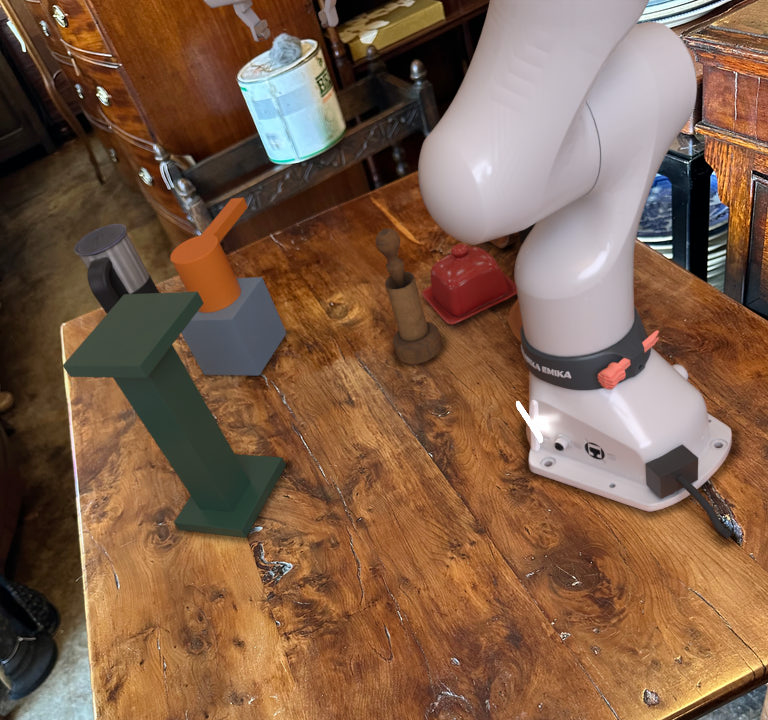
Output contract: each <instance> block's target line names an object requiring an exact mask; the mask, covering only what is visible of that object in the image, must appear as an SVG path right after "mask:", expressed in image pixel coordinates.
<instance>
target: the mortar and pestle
mask: <svg viewBox="0 0 768 720" xmlns="http://www.w3.org/2000/svg"><path fill="white" fill-rule="evenodd" d="M375 246H376V249H377V250H378V251H379V252H380V253H381V254H382V255H383V256H384V257H385V258H386V260H387V261H386V264H385V268H386V271H387V272H388V274H389V276H388V277H387V278H386V279H385V281H384V286H385V290H386V293H387V296H388V299H389V303H390V307H391V309H392V312H393V313H392V314H393V317H394V319H395V322H396V326H397V331H396V332H395V334H394V335H393V337H392V345H393V349H394V352H395V355H396V358H397V360H398V361H400V362H402V363H404V364H408V365H418V364H423V363H426V362H428V361H430V360H432V359H433V358H434V357H436V356H437V355H438V354H439V353H440V351H441V350H442V348H443V347H442V346H443V341H442V337H441V334H440V333H441V332H440V330H439V328H438V326H437V325H436V324H434V323H432V322H430V321H427V319H426V316H425V311H424V308H423V304H422V300H421V297H420V293H419V289H418V285H417V281H416V278H415V274H414V273H412V272H410V271H405V262H404V260H403V259H402V258H399V250H400V246H401V238H400V235H399V233H398V232H397V231H396V230H395V229H393V228H383V229H381V230H380V231H379V232H378V233H377V235H376V237H375Z"/></svg>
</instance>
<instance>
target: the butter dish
mask: <svg viewBox="0 0 768 720" xmlns="http://www.w3.org/2000/svg"><path fill="white" fill-rule="evenodd" d="M430 283H431V285H430V286H428V287H426V288H425V289H423V290H422V291H421V296H422V297H423V298H424V300H425V301H426V302H427V303H428V304H429V305H430V307H431V308H432V309H433V310H434V311H435V312H436V313H437V315H439V317H440V318H441V319H442V320H443V321H444V322H445V323H446V324H448V325H456V324H458V323H460V322H462V321H465V320H467V319H469V318H471V317H473V316H474V315H477V314H479V313H481V312H484V311H485V310H487V309H490V308H492V307H494V306H496V305H498V304H501V303H502V302H504V301H506V300H509V299H511V298H512V297H514V296H516V295H517V289H516V283H515V281H513V280H512V279H511V278H510V277H509V276H508V275H507V274H506V273H505V272H503V271H502V270H501V268H500V266H499V264H498V262H497V261H496V259H494V257H493V256H492V255H491V254H490V253H489V252H488V251H486V250H485V249H483V248H481V247H479V246H470V245H469V244H466V243H458V244H454V246H452V247H451V249H450V253H449V254H448V255H446V256H444V257H442V258H441V259H439V260H438V261H436V262H435V263H434V264H433V265H432V266H431V268H430Z"/></svg>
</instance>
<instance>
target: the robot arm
mask: <svg viewBox="0 0 768 720" xmlns="http://www.w3.org/2000/svg"><path fill="white" fill-rule="evenodd" d="M202 1H203V2H204V3H205V4H206V5H207V6H208V7H210V9H216V8H221V7H225V6H230V5H232V7H233V9H234V12H235V15H237V17H238V18H239V19H240V20H241V21H242V22H243V23H244V24H245V25H246V26H247V27H248V28H249V29H250V32H251V34H252V38H253V40H254V41H255V43H259V42H264V41H267V40H268V38H270V37H271V30H270V28H268V27H269V24H268V21H267V19H260V18H259V16H258V15H257V14H256V12H254V10H253V9H252V8H251V7H252V6H253V0H202ZM649 2H650V0H489V4H488V8H487V13H486V17H485V20H484V23H483V27H482V30H481V33H480V36H479V39H478V42H477V45H476V48H475V51H474V53H473V56H472V59H471V61H470V64H469V66H468V68H467V71H466V73H465V74H464V75H465V76H464V78H463V79H462V82H461V84H460V86H459V88H458V90H457V92H456V94H455V96H454V98H453V100H452V101H451V103H450V105H449V106H448V108H447V110H446V111H445V112H444V114H443V116H442V117H441V118H440V119H439V121H438V123H437V124H436V125H435V126H434V128H433V129H432V130H431V131H430V132H429V134H428V135H427V136H426V138H425V139H424V140H423V143H422V145H421V149H420V153H419V157H418V164H417V165H418V167H417V169H418V170H417V179H418V187H419V193H420V195H421V199H422V202H423V204H424V206H425V208H426V211H427V212H428V214H429V216H430V217H431V219H432V220H433V221H434V222H435V224H436V225H437V226H438V227H439V228H440V229H441V230H442V231H443V232H445V233H446V234H447V235H449V236H450V237H451V238H453V239H455V240H457V241H459V242H462V243H463V244H466V245H468V246H476V245H480V244H483V243H486V242H489V241H490V240H494V239H497V238H501V237H504V236H507V235H510V234H513V233H516V232H519V231H522V230H524V229H526V228H528V227H530V226H531V225H533V224H535V223H536V224H535V226H534V227H533V229H532V230H531V232H530V233H529V234H528V236H527V237H526V239H525V241H524V242H523V244H522V245H521V246H520V247H519V250H518V252H517V255H516V258H515V259H516V260H515V264H514V270H513V271H514V272H513V274H514V276H513V277H514V283H515V285H516V289H517V294H516V295H517V300H518V301H519V307H520V313H521V318H522V326H521V331H520V336H521V342H520V343H521V344H520V350H521V355H522V356H523V362H524V365H525V367H526V369H527V370H528V407H529V408H528V413H527V411H526V410H525V408H524V406H523V405H522V404H521V402H520V401H519V400H518V401H516V404H515V405H516V409H517V410H518V411H519V413H520V414H521V416H522V418H523V419H524V420H525V422H526V427H525V434H526V438H527V441H528V444H529V447H530V449H529V453H528V469H529V471H530V472H531V473H534V474H536V475H539V476H542V477H544V478H548V479H549V480H553V481H556V482H559V483H561V484H565V485H568V486H571V487H574V488H577V489H579V490H583V491H585V492H589V493H591V494H594V495H597V496H600V497H603V498H606V499H608V500H612V501H615V502H618V503H621V504H623V505H626V506H629V507H632V508H635V509H639V510H641V511H645V512H655V511H660V510H663V509H666V508H668V507H671V506H674V505H675V504H677V503H679V502H681V501H683V500H684V499H686V498H688V497H689V496H691V497H693V499H694V500H695V501H696V502H697V503H698V504H699V505H700V507H701V508H702V509H703V511H704V512H705V513H706V514H707V516H708V518H709V520H710V522H711V524H712V526H713V527H714V529H715V530H716V532H717V533H719V534H720V535H721V536H722V537H723V538H725V539H729V538H731V536H732V535H733V532H732V531H731V530H729V529H728V528H726V526H725V525H724V524H723V523H722V521H721V519H720V517H719V516H718V514H717V512H716V510H715V509H714V507H713V506H712V504H711V503H710V502H709V501H708V500H707V498H705V496H704V495H703V494H702V493H701V492H700V490H698V489H700V488H701V487H702V486H703V485H704V484H706V482H708V481H709V480H710V479H711V478H712V476H714V474H715V473H716V472H717V471H718V470H719V469H720V468H721V466H722V465H723V464H724V462H725V461H726V459H727V457H728V455H729V453H730V451H731V448H732V444H733V433H732V432H733V431H732V429H731V427H730V426H728V425H727V424H725V423H724V422H722V421H721V420H719V419H718V418H716V417H714V416H713V415H711V413H709V412H708V408H707V404H706V401H705V398H704V396H703V394H702V393H701V392H700V390H699V389H697V387H695V386H694V385H693V384H692V383H691V382H690V381H689V373H688V370H687V369H686V368H685V366H683V365H681V364H679V363H675V364H673V365H671V363H670V362H668V361H667V360H666V359H665V358H664V357H663V356H662V355H661V354H660V353H658V351H656V350H655V349H654V348H653V346H654V345H656V343H657V342H658V341H659V340H660V337H658V335H659V333H660V330H659V329H656V330H655V331H653V332H652V333H651V334H650V335H648V333H647V332H648V331H647V330H646V328H645V325H644V323H643V320H642V318H641V316H640V314H639V311H638V309H637V308H636V306H635V291H634V290H635V288H634V287H635V286H634V285H635V284H634V283H635V282H634V278H635V277H634V275H635V274H634V273H635V271H634V270H635V269H634V267H635V266H634V265H635V264H634V263H635V262H634V261H635V260H634V259H635V258H634V257H635V247H636V241H637V235H638V231H639V227H640V223H641V220H642V216H643V213H644V210H645V206H646V203H647V201H648V197H649V195H650V192H651V190H652V187H653V184H654V182H655V180H656V179H655V178H656V177H657V174H658V172H659V170H660V167H661V165H662V163H663V161H664V159H665V157H666V155H667V154H668V152H669V151H670V149H671V147H672V145H673V144H674V142H675V140H676V139H677V137H678V136H679V135H680V134H681V132H682V130H683V129H685V127H686V125H687V124H688V122H689V121H690V120H691V117H692V115H693V112H694V110H695V106H696V101H697V96H698V95H697V93H698V79H697V78H698V77H697V71H696V67H695V63H694V60H693V56H692V54H691V52H690V50H689V48H688V46H687V45H686V44H685V42H684V41H683V39H682V38H681V37H680V36H679V35H678V34H677V33H676V32H675V31H674V30H672V29H671V28H670V27H668V26H667V25H665V24H663V23H660V22H656V21H645V22H639V21H640V19H641V17H642V15H643V14H644V12H645V10H646V8H647V6H648V4H649ZM336 3H337V0H324V6H323V7H322V8H321V10H320V11H319V12H317V14H318V17H319V20H320V26H321V27H322V29H329V28H334V27H335V28H336V26H337V25H338V24H339V17H338V13H337V9H336ZM638 22H639V23H638Z"/></svg>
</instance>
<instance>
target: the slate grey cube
mask: <svg viewBox="0 0 768 720" xmlns="http://www.w3.org/2000/svg"><path fill="white" fill-rule="evenodd" d="M236 279H237V281H238V283H239V285H240V288H241V294H240V296H239V297H238V299H237V300H236V301H235V302H233V303H232V304H231V305H229V306H228V307H226V308H224V309H222V310H219V311H216V312H211V313H203V312H200V311H198V312H197V313H196V314H195V315H194V317H193V318H192V319H191V321H190V322H189V323H188V325H187V326H186V327H185V329H184V330H183V331H182V333H181V334H180V335H181V336H182V338H183V340H184V342H185V343H186V345H187V347H188V349H189V351H190V352H191V353H192V355H193V358H194V359H195V361H196V363H197V365H198V366H199V368H200V370H201V372H202V374H203V376H250V377H251V376H252V377H253V376H255V377H258V376H259V377H260V376H261V374H262V372H263V371H264V369H265V368H266V366H267V364H268V363H269V362H270V360H271V358H272V357H273V355H274V354H275V352H276V350H277V349H278V347H280V344H281V342H282V341H283V340H284V338H285V336H286V335H287V331H286V329H285V326H284V323H283V322H282V319H281V316H280V315H279V312H278V310H277V308H276V305H275V303H274V301H273V299H272V297H271V295H270V291H269V288H267V285H266V282H265V280H264V278H263V277H262V276H256V277H255V276H254V277H253V276H252V277H236Z"/></svg>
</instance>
